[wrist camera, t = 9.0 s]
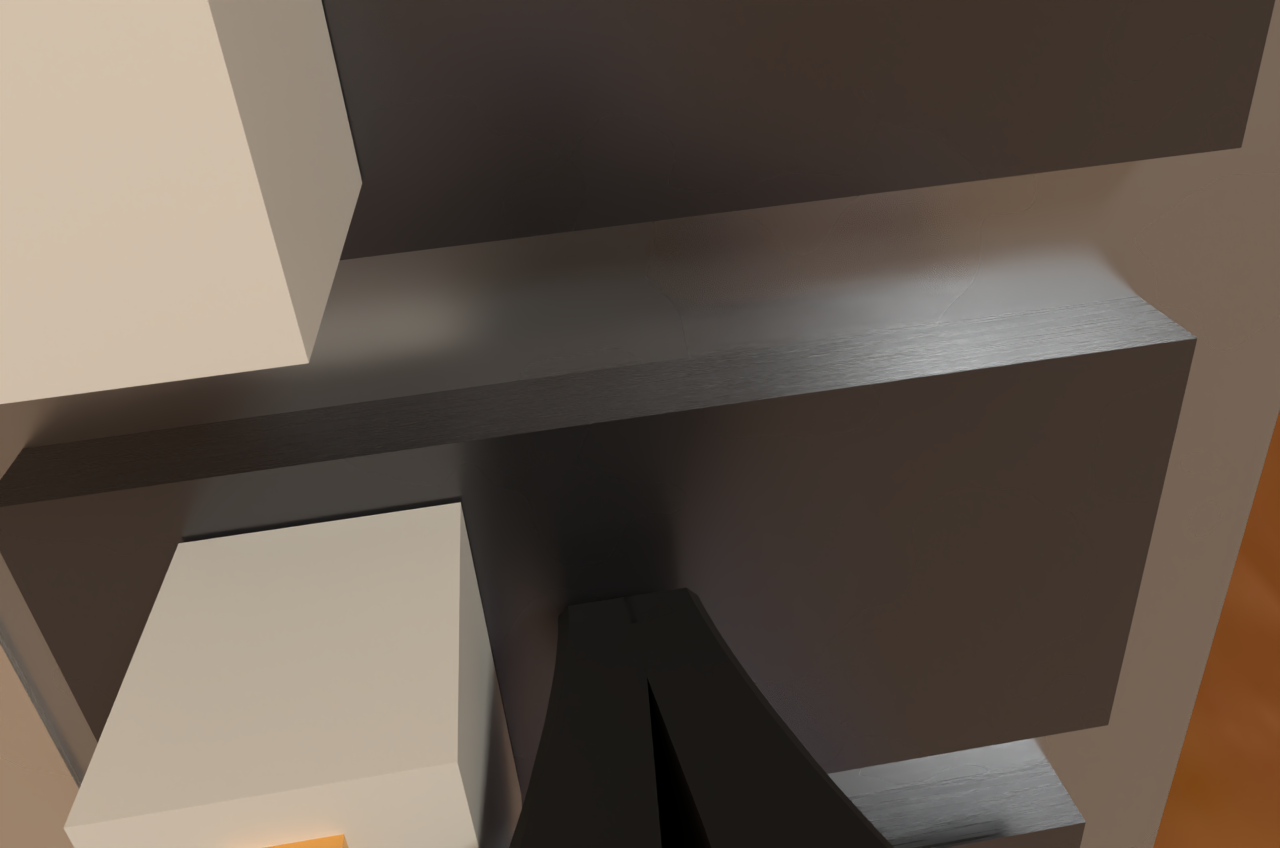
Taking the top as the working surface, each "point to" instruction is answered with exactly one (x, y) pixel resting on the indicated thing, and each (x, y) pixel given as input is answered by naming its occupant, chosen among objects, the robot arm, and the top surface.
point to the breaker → (166, 190)
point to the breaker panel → (751, 382)
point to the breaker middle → (310, 698)
